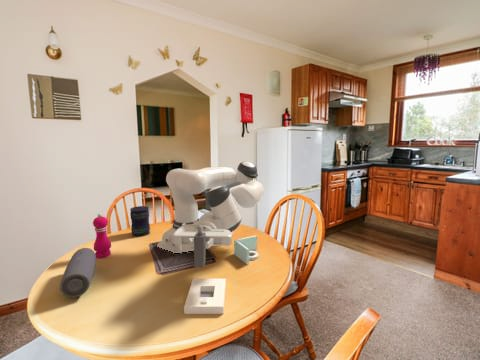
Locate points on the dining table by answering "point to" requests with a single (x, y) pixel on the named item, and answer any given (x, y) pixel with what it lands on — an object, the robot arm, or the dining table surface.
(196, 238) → the grey bottle
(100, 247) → the pepper mill
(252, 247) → the right angle wall
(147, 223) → the storage jar
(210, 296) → the socket plate
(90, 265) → the bluetooth speaker
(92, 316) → the dining table surface
